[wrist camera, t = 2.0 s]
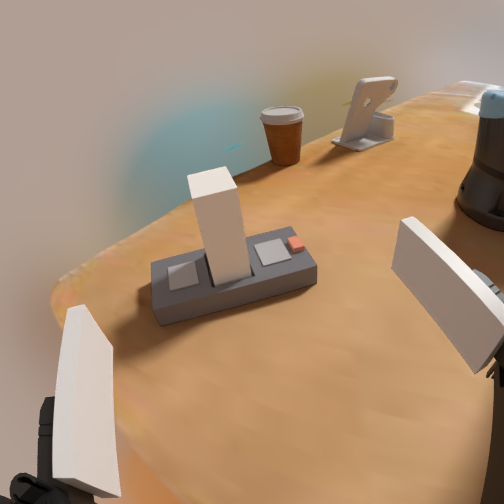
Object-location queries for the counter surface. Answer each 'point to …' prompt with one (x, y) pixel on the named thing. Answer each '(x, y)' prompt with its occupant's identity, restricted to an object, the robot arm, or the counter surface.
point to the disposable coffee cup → (283, 133)
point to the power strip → (236, 293)
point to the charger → (220, 224)
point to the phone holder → (368, 115)
